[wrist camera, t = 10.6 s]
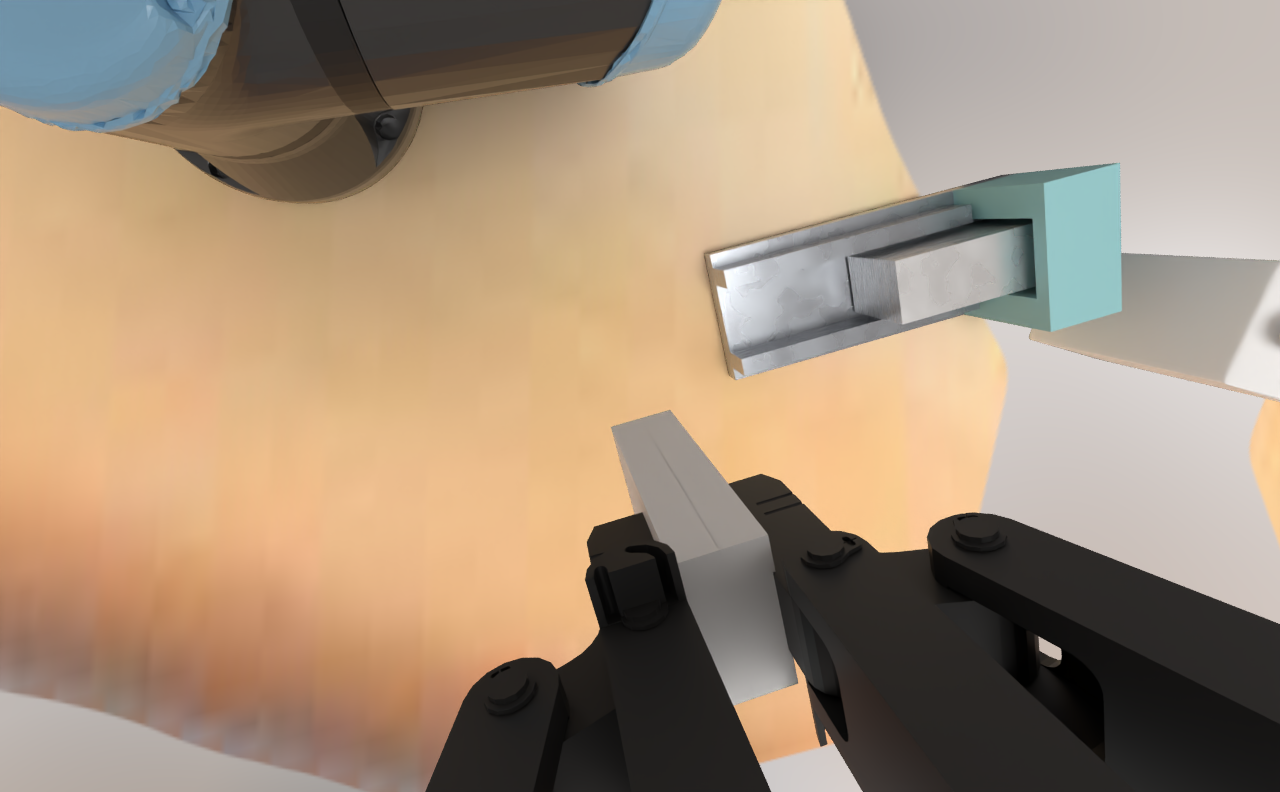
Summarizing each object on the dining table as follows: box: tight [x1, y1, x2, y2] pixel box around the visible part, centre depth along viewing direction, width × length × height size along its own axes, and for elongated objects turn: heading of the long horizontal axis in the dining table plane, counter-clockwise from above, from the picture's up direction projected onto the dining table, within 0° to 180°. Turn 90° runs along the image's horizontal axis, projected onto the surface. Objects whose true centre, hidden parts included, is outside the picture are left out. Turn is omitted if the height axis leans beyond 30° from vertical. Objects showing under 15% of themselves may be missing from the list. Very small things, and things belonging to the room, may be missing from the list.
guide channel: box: [704, 174, 1013, 380], centre depth 45 cm, size 9×23×4 cm, turn 104°
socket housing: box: [953, 163, 1122, 332], centre depth 42 cm, size 9×5×8 cm, turn 13°
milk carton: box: [1029, 253, 1280, 402], centre depth 41 cm, size 7×7×19 cm
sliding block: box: [847, 218, 1036, 325], centre depth 43 cm, size 4×12×6 cm, turn 104°
